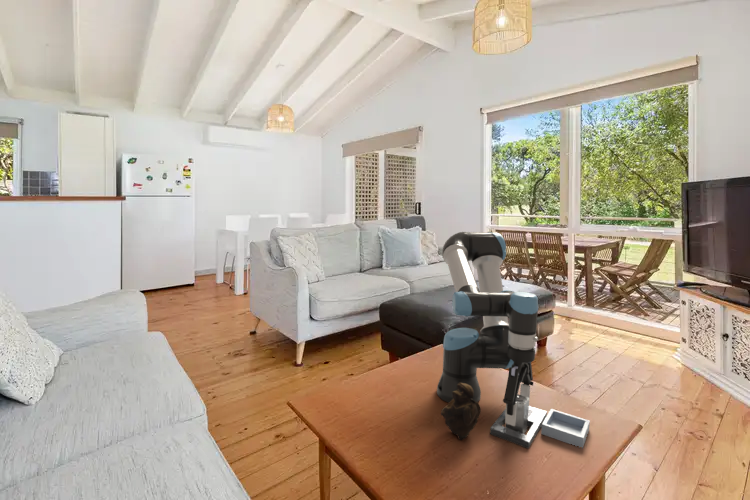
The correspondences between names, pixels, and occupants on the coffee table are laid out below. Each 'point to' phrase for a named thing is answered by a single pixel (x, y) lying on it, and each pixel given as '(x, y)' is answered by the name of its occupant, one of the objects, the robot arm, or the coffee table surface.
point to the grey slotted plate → (521, 439)
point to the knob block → (521, 415)
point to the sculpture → (461, 411)
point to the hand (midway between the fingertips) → (517, 414)
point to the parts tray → (565, 427)
